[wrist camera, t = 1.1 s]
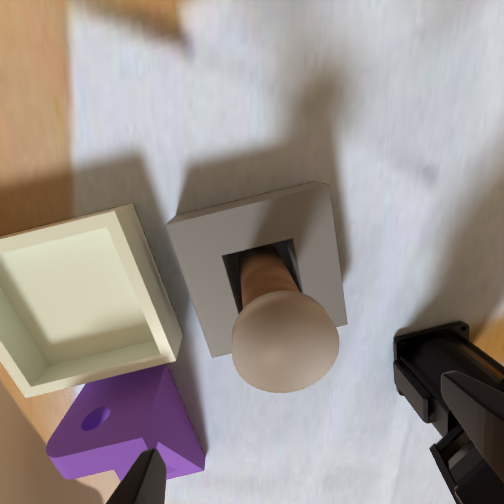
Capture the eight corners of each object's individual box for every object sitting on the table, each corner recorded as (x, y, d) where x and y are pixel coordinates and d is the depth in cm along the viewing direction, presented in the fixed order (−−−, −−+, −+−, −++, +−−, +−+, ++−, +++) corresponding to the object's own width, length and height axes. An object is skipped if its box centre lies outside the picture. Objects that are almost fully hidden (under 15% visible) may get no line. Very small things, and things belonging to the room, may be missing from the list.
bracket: (89, 378, 23) (33, 463, 16) (167, 359, 23) (142, 437, 16) (139, 469, 27) (109, 568, 20) (205, 453, 27) (197, 546, 20)
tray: (132, 203, 18) (114, 210, 15) (183, 335, 22) (175, 361, 19) (-24, 242, 18) (-71, 257, 15) (52, 367, 22) (25, 398, 19)
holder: (313, 181, 19) (329, 184, 16) (332, 303, 22) (347, 324, 19) (175, 215, 19) (165, 225, 16) (214, 332, 22) (212, 358, 19)
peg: (282, 228, 20) (331, 290, 10) (293, 281, 21) (345, 378, 12) (224, 243, 20) (219, 318, 10) (239, 294, 21) (246, 403, 12)
